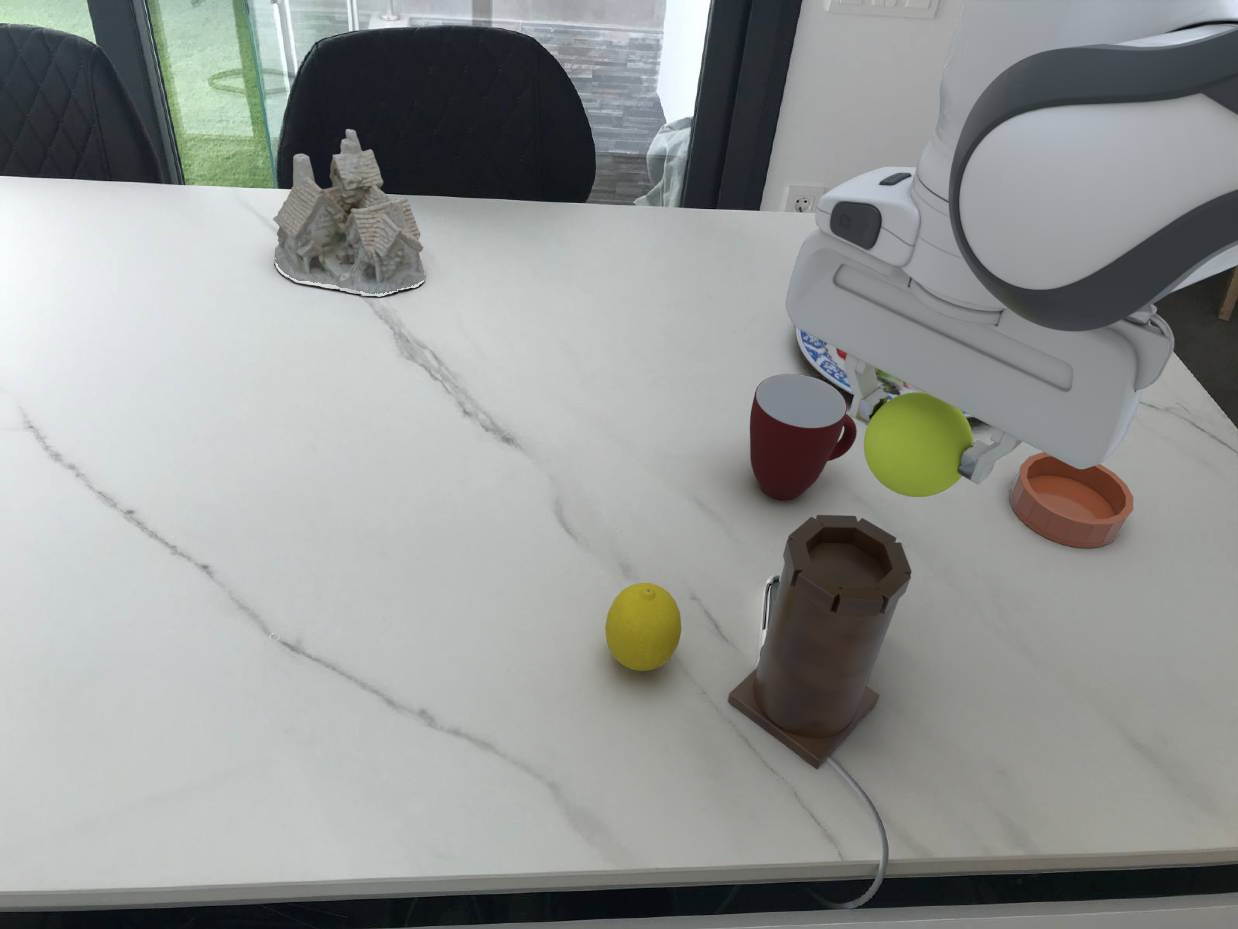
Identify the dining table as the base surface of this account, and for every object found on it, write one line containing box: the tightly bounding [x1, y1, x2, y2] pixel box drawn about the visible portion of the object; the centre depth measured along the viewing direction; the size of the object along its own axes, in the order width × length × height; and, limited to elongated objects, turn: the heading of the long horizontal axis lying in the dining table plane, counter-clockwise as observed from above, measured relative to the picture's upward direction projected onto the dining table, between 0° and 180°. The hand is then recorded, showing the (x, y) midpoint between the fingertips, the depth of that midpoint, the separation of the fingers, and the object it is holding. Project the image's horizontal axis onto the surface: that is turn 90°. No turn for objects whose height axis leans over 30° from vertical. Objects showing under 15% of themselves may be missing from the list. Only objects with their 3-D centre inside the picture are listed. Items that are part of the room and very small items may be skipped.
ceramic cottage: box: [272, 128, 426, 294], centre depth 111 cm, size 16×16×15 cm
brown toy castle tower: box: [727, 514, 913, 770], centre depth 67 cm, size 8×8×16 cm
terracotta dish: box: [1009, 451, 1134, 549], centre depth 90 cm, size 10×10×3 cm
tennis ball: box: [863, 392, 974, 498], centre depth 60 cm, size 6×6×6 cm
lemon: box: [604, 582, 682, 672], centre depth 72 cm, size 6×6×8 cm
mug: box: [749, 373, 858, 501], centre depth 88 cm, size 11×8×10 cm
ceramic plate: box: [795, 327, 974, 419], centre depth 108 cm, size 26×26×3 cm
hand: (916, 445), depth 60 cm, fingers closed on tennis ball, 6 cm apart
